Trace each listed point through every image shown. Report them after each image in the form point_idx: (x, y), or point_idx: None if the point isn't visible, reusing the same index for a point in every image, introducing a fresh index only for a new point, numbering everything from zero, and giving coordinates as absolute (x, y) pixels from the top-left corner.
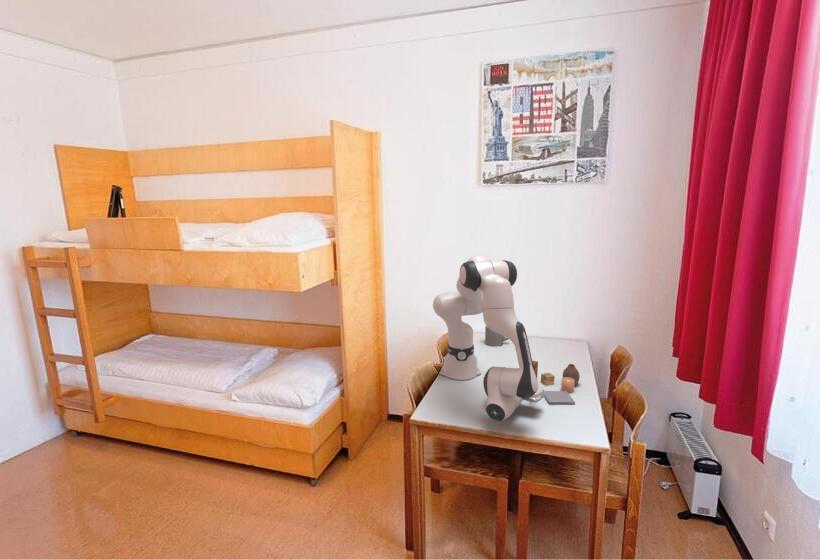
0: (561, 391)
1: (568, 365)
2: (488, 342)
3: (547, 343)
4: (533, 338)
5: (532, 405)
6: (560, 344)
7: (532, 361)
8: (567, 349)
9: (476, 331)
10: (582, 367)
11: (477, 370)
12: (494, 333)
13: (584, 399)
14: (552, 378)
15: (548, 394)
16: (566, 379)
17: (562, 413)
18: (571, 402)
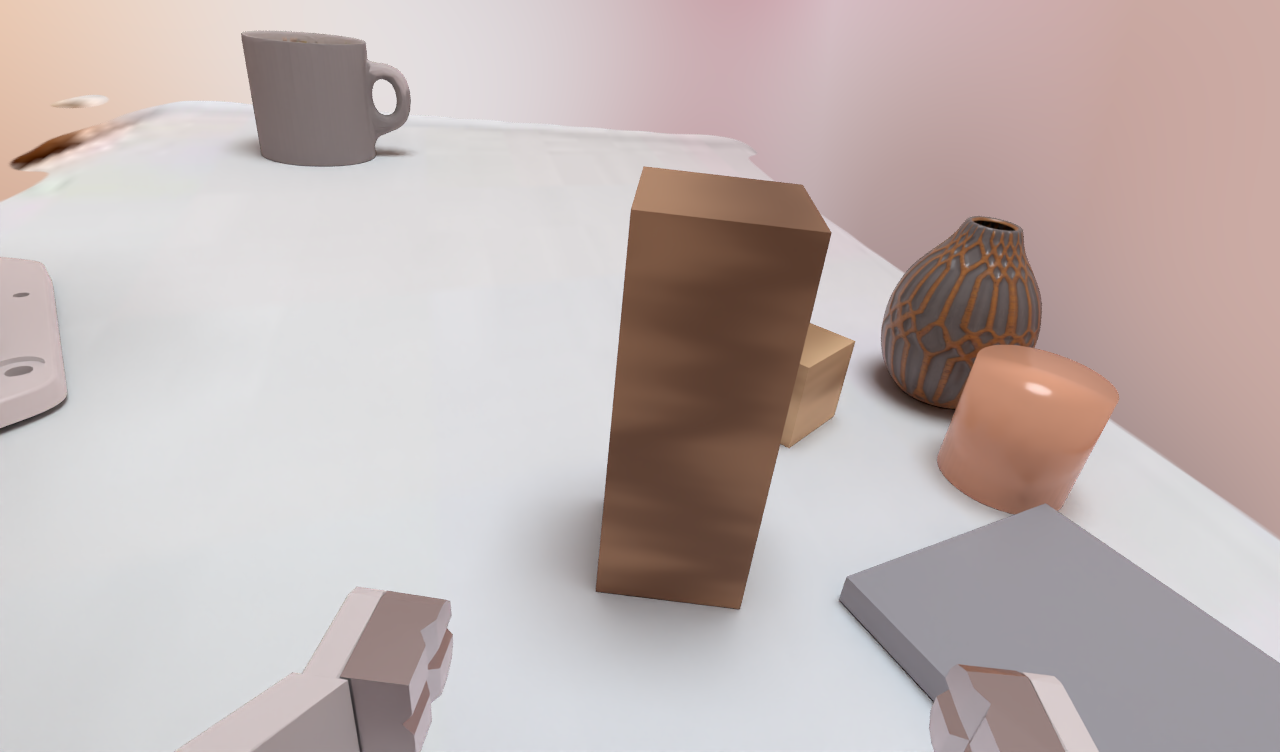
0: (1019, 525)
1: (971, 230)
2: (275, 141)
3: (601, 153)
4: (530, 136)
5: None
6: (659, 156)
7: (732, 184)
8: (704, 173)
9: (234, 109)
10: (855, 251)
11: (25, 360)
12: (304, 75)
13: (1266, 587)
14: (838, 369)
15: (966, 639)
16: (1034, 378)
17: None
18: None
